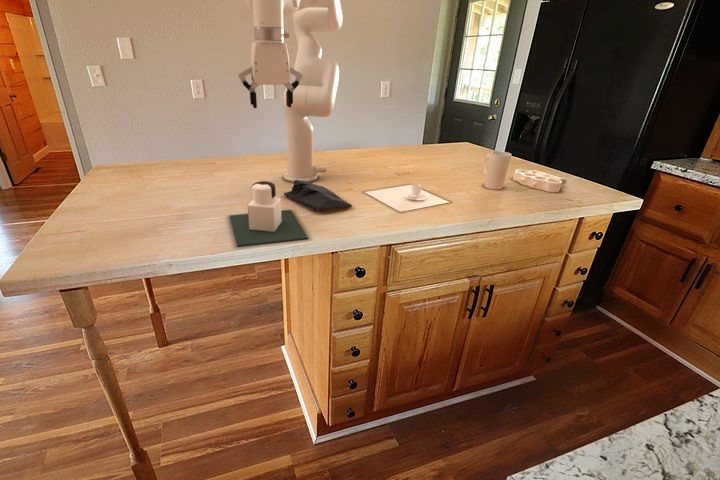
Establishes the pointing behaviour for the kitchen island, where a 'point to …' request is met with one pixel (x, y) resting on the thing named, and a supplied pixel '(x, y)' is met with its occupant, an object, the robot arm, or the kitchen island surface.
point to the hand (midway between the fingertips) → (272, 107)
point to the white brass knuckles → (539, 180)
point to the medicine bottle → (264, 207)
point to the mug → (496, 169)
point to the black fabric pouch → (315, 197)
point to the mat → (284, 232)
